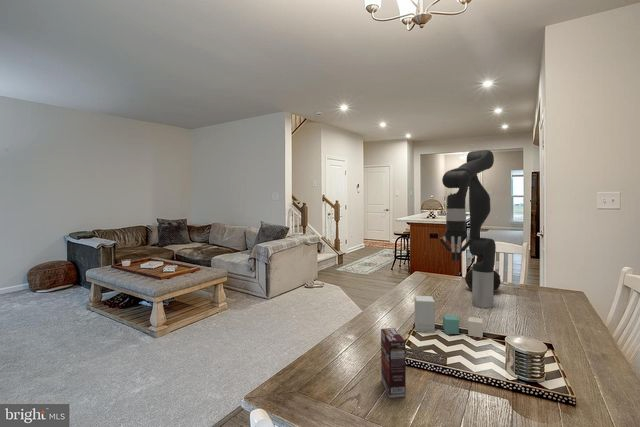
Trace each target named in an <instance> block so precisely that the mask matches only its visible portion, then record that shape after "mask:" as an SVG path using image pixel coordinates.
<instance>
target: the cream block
mask: <svg viewBox="0 0 640 427" xmlns="http://www.w3.org/2000/svg"><path fill="white" fill-rule="evenodd" d="M467 321H468V322H467V326H468V327H467V331H468V332H467V336H468V335H470V336H478V337H484V336H483V335H484V319H483V318H481V317H474V316H468V320H467ZM470 336H469V337H470Z"/></svg>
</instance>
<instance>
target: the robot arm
mask: <svg viewBox="0 0 640 427" xmlns="http://www.w3.org/2000/svg"><path fill="white" fill-rule="evenodd" d="M494 162H495V158H494V153H493V151H492V150H489V149H482V150H474V151H473V150H472V151H469V152H468V153H467V155H466V162H465V163H463V164H461V165H460V166H458V167H456V168H453V169H450V170H447V171H446V172H445V173H444V174H443V175H442V180H441V182H442V185H443V186H444V187H445V188H447V189H458V190H457V192H455V193H450V194H449V195H447V198H446V214H445V215H446V216H445V219H446V220H445V221H446V222H445V234H444V236H442V237H440V238H439V241H440V242H441V244H442V245H443V247H444V248H445V249H446V251H448V252H451V260H452V261H453V262H459V261H460V260H461V253H463V252H465V251H466V250H467V249H469V253H470V254H471V256H474V257H475V256H476V257H477V256H480V257H484V259H483V261H482V262H479V263H476V262H474V263H473V264H472V269H473V283H472V289H471V290H472V291H471V292H472V293H471V294H472V296H471V298H472V299H471V301H472V302H471V304H472V305H473V306H474V307H477V308H480V309H481V308H482V309H491V308H493V307H494V292H493V281H494V271H495V262H496V261H495V260H496V250H497V249H496V248H497V247H496V246H497V245H496V241H495V240H494V239H493V238H489V237H488V238H487V237H481V228H482V226H483V224H484V223H485V221H486V220H487V219H488V218H489V215H490V212H491V196H490V194H489V193H488V191H487V190H486V189H485V187H484V186H483V184H482V183H481V181H480V180H479V176H478V174H480V173H481V172H484V171H487V170H490V169H491V168H492V167H493V165H494ZM467 193H468V205H469V206H468V208H469V237H468V234H467V228H466V227H467V211H466V201H467V200H466V199H467ZM447 241H448V243H449V244H450V246H449V244H448V243H447ZM464 242H465V244H463V243H464ZM462 244H463V246H461V245H462ZM455 245H456V248H455Z"/></svg>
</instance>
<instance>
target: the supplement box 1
mask: <svg viewBox="0 0 640 427" xmlns="http://www.w3.org/2000/svg"><path fill="white" fill-rule="evenodd" d="M406 355H407V354H406V340H405V339H404V337H402V335H401V334H400V332H399V331H398V330H397V327H389V328H388V327H387V328H381V329H380V356H381V357H380V359H381V360H380V361H381V362H380V363H381V367H380V368H381V373H380V374H381V377H380V378H381V379H380V380H381V382H382V384H383V387H384V388H385V390H386V393H387V394H388V397H389V399H392V398H393V399H394V398H404V397H406V396H407V395H406V394H407V392H406V391H407V389H406V380H407V378H406V377H407V376H406V371H407V369H406Z"/></svg>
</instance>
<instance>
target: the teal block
mask: <svg viewBox="0 0 640 427" xmlns="http://www.w3.org/2000/svg"><path fill="white" fill-rule="evenodd" d="M443 329H444V330H443ZM442 330H443V332H444V334H445V335H451V334H459V335H460V319H459V318H458V317H457V315H456V314H455V315H454V314H442Z"/></svg>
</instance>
